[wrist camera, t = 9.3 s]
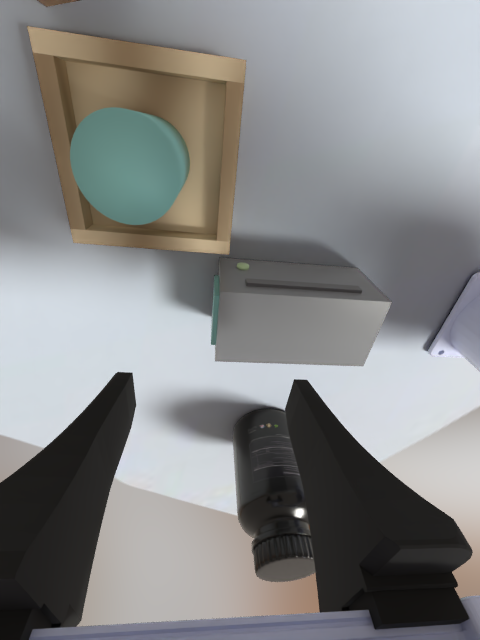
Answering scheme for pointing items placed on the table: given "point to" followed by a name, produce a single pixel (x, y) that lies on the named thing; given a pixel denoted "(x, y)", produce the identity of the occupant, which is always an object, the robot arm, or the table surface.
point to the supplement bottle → (271, 497)
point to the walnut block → (55, 2)
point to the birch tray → (155, 99)
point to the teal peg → (129, 164)
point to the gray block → (294, 313)
